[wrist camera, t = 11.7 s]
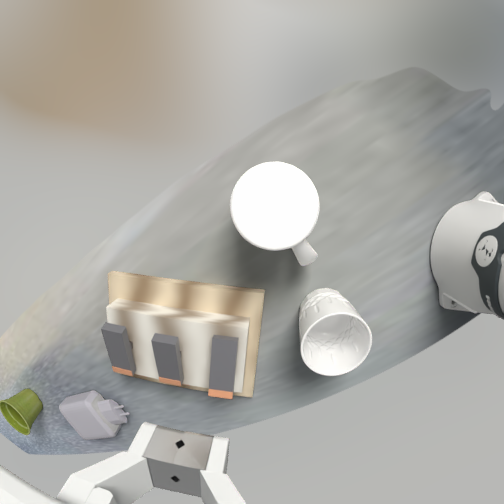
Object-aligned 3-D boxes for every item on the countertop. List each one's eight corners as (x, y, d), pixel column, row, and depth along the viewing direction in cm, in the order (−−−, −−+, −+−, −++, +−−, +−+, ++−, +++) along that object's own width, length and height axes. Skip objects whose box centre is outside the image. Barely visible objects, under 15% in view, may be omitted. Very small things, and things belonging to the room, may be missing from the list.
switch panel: (264, 289, 40) (263, 305, 34) (252, 391, 44) (250, 415, 38) (112, 270, 41) (92, 282, 35) (121, 368, 45) (106, 386, 39)
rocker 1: (125, 326, 35) (121, 334, 33) (136, 369, 38) (132, 376, 37) (105, 322, 35) (100, 329, 34) (117, 364, 38) (113, 371, 37)
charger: (145, 419, 47) (95, 428, 49) (116, 382, 46) (68, 394, 48) (137, 436, 42) (85, 441, 45) (105, 397, 41) (57, 407, 43)
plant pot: (17, 374, 48) (-5, 393, 40) (47, 396, 49) (26, 417, 40) (21, 400, 50) (2, 418, 42) (49, 420, 51) (31, 441, 42)
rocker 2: (178, 336, 34) (175, 345, 33) (183, 378, 38) (181, 386, 37) (154, 332, 34) (150, 341, 33) (162, 374, 38) (159, 382, 37)
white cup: (329, 345, 41) (342, 385, 31) (283, 320, 41) (286, 358, 31) (362, 300, 40) (385, 333, 30) (315, 272, 39) (329, 299, 29)
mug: (288, 144, 26) (354, 254, 28) (284, 156, 36) (333, 237, 38) (212, 193, 28) (281, 299, 29) (228, 191, 38) (279, 271, 39)
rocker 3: (238, 337, 36) (237, 341, 34) (233, 394, 36) (232, 399, 35) (214, 334, 36) (211, 338, 34) (210, 391, 36) (208, 396, 35)
